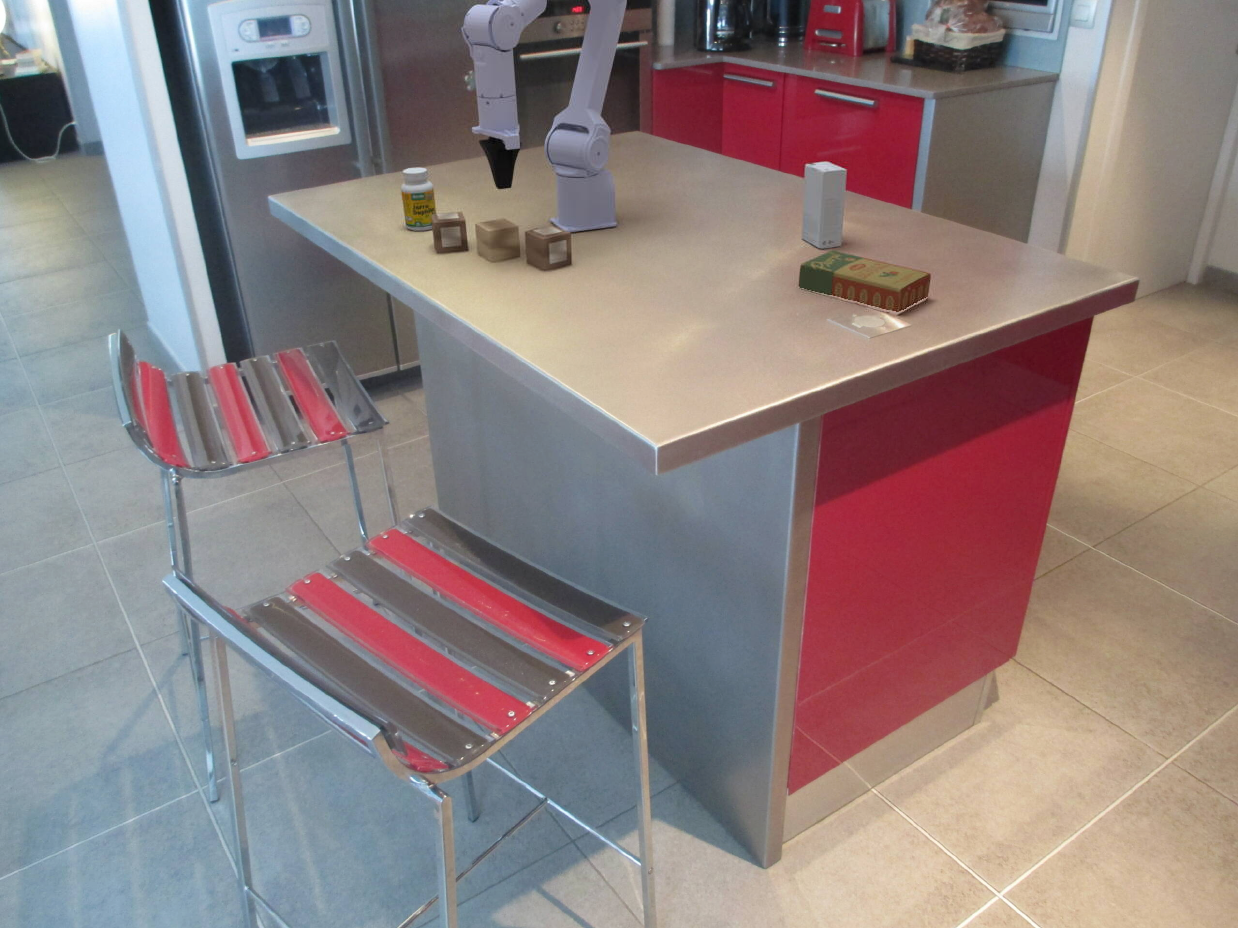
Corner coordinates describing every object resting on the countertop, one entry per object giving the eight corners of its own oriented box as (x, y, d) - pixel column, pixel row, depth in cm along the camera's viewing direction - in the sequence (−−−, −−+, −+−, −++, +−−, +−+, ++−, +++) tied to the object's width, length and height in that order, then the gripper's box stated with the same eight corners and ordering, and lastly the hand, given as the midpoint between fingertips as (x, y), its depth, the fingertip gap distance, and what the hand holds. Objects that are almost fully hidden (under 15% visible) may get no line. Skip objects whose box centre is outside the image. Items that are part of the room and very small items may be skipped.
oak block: (506, 249, 158) (504, 218, 155) (520, 257, 154) (518, 226, 151) (477, 254, 155) (475, 223, 153) (491, 263, 152) (488, 231, 149)
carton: (896, 318, 131) (900, 288, 129) (796, 290, 140) (798, 261, 138) (928, 301, 136) (932, 271, 134) (829, 275, 146) (831, 247, 143)
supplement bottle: (429, 220, 171) (423, 164, 166) (442, 228, 167) (436, 171, 163) (400, 226, 169) (393, 169, 164) (413, 233, 165) (406, 176, 160)
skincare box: (842, 246, 156) (850, 169, 150) (817, 250, 155) (824, 172, 148) (822, 235, 161) (829, 160, 155) (798, 239, 160) (804, 163, 154)
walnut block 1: (464, 242, 161) (461, 210, 158) (468, 251, 157) (465, 219, 154) (434, 244, 160) (430, 213, 157) (436, 254, 156) (433, 222, 153)
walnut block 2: (553, 256, 154) (552, 224, 151) (572, 265, 150) (571, 232, 148) (526, 263, 151) (524, 230, 149) (545, 272, 148) (543, 238, 145)
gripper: (457, 89, 149) (466, 179, 156) (482, 106, 137) (491, 203, 144) (502, 85, 151) (509, 174, 158) (531, 101, 140) (537, 197, 146)
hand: (503, 187), depth 151 cm, fingers closed
